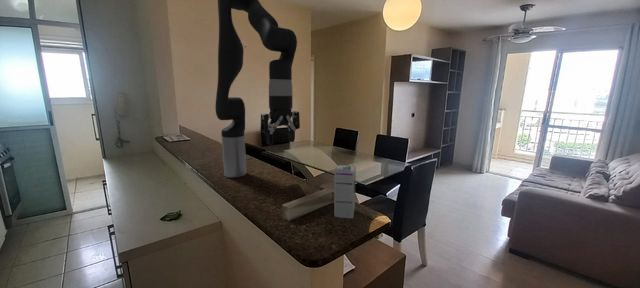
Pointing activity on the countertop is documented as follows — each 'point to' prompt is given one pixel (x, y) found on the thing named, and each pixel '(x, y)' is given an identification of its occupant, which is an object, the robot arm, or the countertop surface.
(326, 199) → the fence board
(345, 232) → the countertop surface
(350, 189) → the syrup box
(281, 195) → the countertop surface
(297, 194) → the brick
